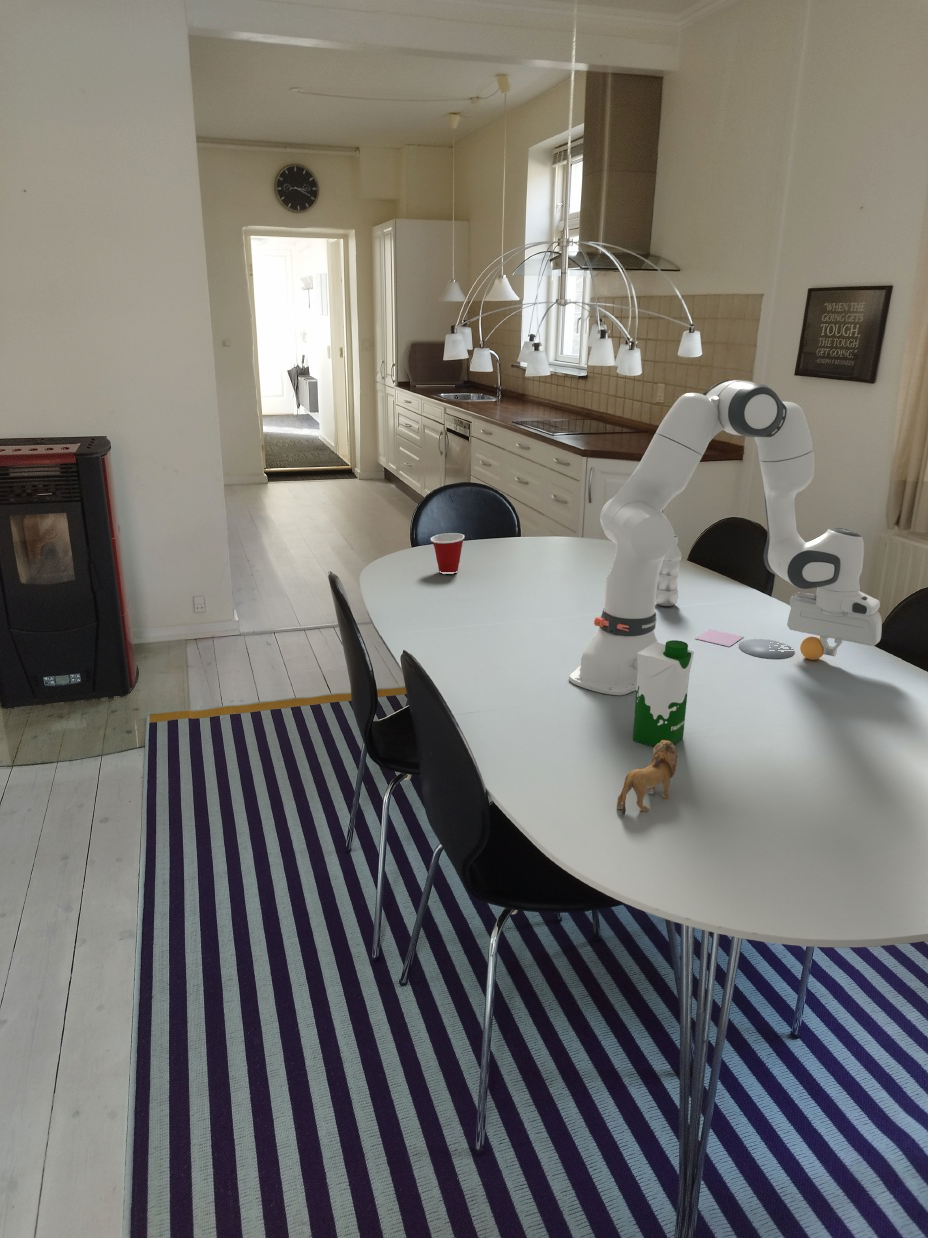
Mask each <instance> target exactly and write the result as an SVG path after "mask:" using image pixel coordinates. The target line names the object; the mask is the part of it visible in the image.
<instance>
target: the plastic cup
mask: <svg viewBox="0 0 928 1238" xmlns="http://www.w3.org/2000/svg"><path fill="white" fill-rule="evenodd" d="M464 540H465V534H462V533H457V532H448V533H440V534H436V535H434V536H432V537H430V541H431V543H432V546H433V547H434V548H433V549H434V552H435V558H436V563H437V567H438V572H439V571H441V572H456V571H457V572H458V571H459V564H460V561H461V554H462V548H463V543H464Z"/></svg>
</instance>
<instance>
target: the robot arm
mask: <svg viewBox="0 0 928 1238" xmlns="http://www.w3.org/2000/svg"><path fill="white" fill-rule="evenodd" d="M722 431H725V432H726V433H728V434H730V435H734V436H743V437H748V438H753V439H754V441H755V444H756V445H757V453H758V454H757V455H758V462H759V467H760V471H761V479H762V482H763V491H764V496H763V497H764V506H765V507H764V509H765V519H766V528H767V530H766V532H767V537H766V542H765V546H764V550H763V562H764V565H765V567H766V569H767V570H768V571H769V572H770V573H772V574H773V575H775V576H778V578H781V579H783V580H785V581H786V582H787V583H788V584H791V585H792V586H794V587H795V588H796V587H797V588H798V589H803V590H808V589H809V590H810V589H816V588H817V589H816V594H815V593H814V594H813V593H806V592H802V591H798V592H797V593H793V594H792V595H791V596H790V599H789V607H790V610H789V614H788V617H787V623H786V625H787V628H788V629H789V630H790V631H794V632H798V633H799V632H800V633H805V634H809V635H815V636H819V639H820V642H821V644H822V646H823V647H824V651H823V655H825V656H830V657H836V656H837V655H838V648H839V647H840V646H841V645H842V644H843V643H844V642H849V643H854V644H858V645H865V646H870V647H874V646H876V645H878V643H880V641H881V639H882V631H883V629H882V627H883V625H882V624H883V622H882V620H883V619H882V616H881V614H880V612H879V611H878V610H879V608H880V606H881V602H880V600H879V599H877V598H875V597H872V596H870V595H868V594H867V593H864V592H863V591H860V590H861V589H860V588H861V587H860V576H861V574H862V572H863V566H864V565H863V564H864V558H865V557H864V555H865V543H864V538H863V537H862V535H861V534H859V533H857V532H856V531H853V530H850V529H847V528H843V527H830V528H828V529H827V530H826V531H825V532H824V533H823V534H822V535H820V536H818V537H816V538H815V539H812V540H810V541H805V540H804V539H803V538H802V537H801V536H800V534H799V532H798V530H797V529H798V528H797V518H796V507H795V499H796V496H797V494H798V493H800V492H801V491H804V490H805V489H806V488H807V487H808V486H809V485H810V484H811V482H812V481H813V480H814V477H815V472H816V471H815V468H816V462H815V461H816V460H815V453H814V452H815V451H814V446H813V440H812V435H811V431H810V427H809V424H808V421H807V417H806V415H805V413H804V411H803V408H802V407H801V406H800V405H799V404H797V403H795V402H793V401H782V400H781V398H780V397H779V395H778V394H777V393H776V392H775V391H774V390H773V389H772V388H770V387H769V386H767V385H765V384H763V383H757V382H756V383H755V382H753V381H750V380H747V379H727V380H722V381H720V382H717V383H716V384H714V385H712V386H711V387H710V388H709V389H708V390H706V391H705V392H704V393H699V392H698V393H697V392H687V393H684V394H682V395H680V396H679V398H677V400H676V401H675V402H674V403H673V405H672V406H671V407H670V409H669V411H668V412H667V413H666V414H665V416H664V418H663V419H662V421H661V422H660V424H659V426H658V428H657V430H656V432H655V433H654V435H653V437H652V439H651V441H650V443H649V445H648V447H647V449H646V450H645V453H644V454H643V455H642V458H641V460H640V461H639V463H638V465H637V466H636V468H635V470H634V471H633V472H632V474H631V475H630V476H629V477H628V479H627V480H626V482H625V483H624V484H623V485H622V486H621V488H620V489H619V490H618V492H617V493H616V494H615V495H614V496H613V497H612V498H610V499H609V500H608V501H606V502H605V503H604V505H603V507H602V509H601V511H600V515H599V521H600V525H601V528H602V530H603V532H604V535H605V536H606V537H607V538H608V539H609V540H610V541H612V542H613V543H614V545H615V555H614V560H613V562H612V566H611V569H610V571H608V573H607V575H606V581H605V582H606V583H605V596H604V597H605V599H604V608H603V609H602V612H601V615H600V616H595V618H594V620H593V625H594V626H595V627H599V628H598V630H597V631H596V632H595V634H594V635H593V637H592V638H591V640H590V641H589V643H588V645H587V646H586V648H585V650H583V653H582V655H581V657H580V665H579V666H578V667H577V668H575V670H574V671H572V672H571V674H569V676H568V681H569V682H571V683H572V684H574V685H575V686H578V687H581V688H582V689H586V690H590V691H593V692H595V693H600V694H606V695H611V696H612V695H613V696H624V695H627V694H630V693H632V692H636V688H637V674H638V662H637V653H638V652H640V651H642V650H643V649H645V648H647V647H649V646H650V645H652V644H654V643H660V642H659V640H658V639H657V636H656V634H655V630H656V624H657V613H656V611H655V610H656V609H655V608H656V602H655V599H656V588H657V581H658V576H659V572H660V569H661V566H662V562H663V559H664V557H665V555H666V554H667V553H668V552H669V550H670V549H671V547H672V545H673V542H674V535H675V531H674V527H673V526H672V524H671V522H670V520H669V519H668V518H667V516H666V515H665V514H664V512H663V510H664V509H665V508H666V507H667V506H668V504H669V503H670V502H671V501H672V500H673V499H674V498H675V497H676V496H677V495H679V494H680V493H682V492H683V491H684V490H685V489H686V487H687V486H688V484H689V482H690V481H691V478H692V476H693V474H694V473H695V471H696V469H697V467H698V465H699V463H700V461H701V460H702V458H703V456H704V454H705V452H706V450H707V448H708V446H709V443H710V442H711V441H712V440H713V439H714V437H715V436H717V435H718V434H719V433H720V432H722ZM828 639H834V644H835V645H834V646H831V645H830V644H829V643H828Z"/></svg>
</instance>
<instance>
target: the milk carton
mask: <svg viewBox="0 0 928 1238" xmlns="http://www.w3.org/2000/svg"><path fill="white" fill-rule="evenodd" d="M694 653H695V652H694V650H693V651H692V650H690V649H689V644H688V643H687V642H686V641H682V640H676V639H675V640H667V641H666V642H665V644H663V643H660V642H659V643H654V644H652V645H650V646H649V647H647V648H645V649H643V650H642V651H640V652H638V653H637V662H638V674H637V688H636V690H635V703H634V717H633V728H632V729H633V730H632V731H633V732H632V741H634V742H637V743H640V744H643V745H646V746H649V747H652V748H654V747H655V746H656V745H657V744H658V743H660V742H661V741H662V740H666V741H667V740H668V741H671V742H672V743H673V745H674V746H675V745H676V744H678V743H679V742H680V741H682V740H683V739H684V732H685V722H686V711H687V703H688V701H687V700H688V690H689V680H690V672H691V668H692V663H693V658H694Z"/></svg>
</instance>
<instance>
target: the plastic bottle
mask: <svg viewBox="0 0 928 1238" xmlns="http://www.w3.org/2000/svg"><path fill="white" fill-rule="evenodd" d="M678 543H679V536H678V535H675V534H674V542H673V545H672V547H671V549H670V550H669V552H668V553H667V554H666V555H665V557H664V559H663V562H662V566H661V569H660V572H659V576H658V581H657V588H656V599H655V605H656V604H657V605H658V606H662V607H674V606H675V605H676V604H677V603H678V600H679V590H678V589H679V588H678V576H679V575H678V574H679V571H680V565H681V560H682V552H681V550H680V549H679V547H678V545H677V544H678Z"/></svg>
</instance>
